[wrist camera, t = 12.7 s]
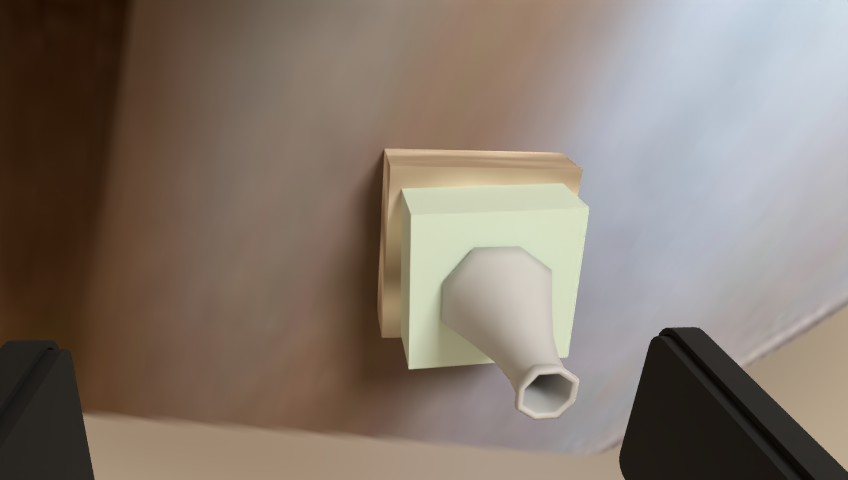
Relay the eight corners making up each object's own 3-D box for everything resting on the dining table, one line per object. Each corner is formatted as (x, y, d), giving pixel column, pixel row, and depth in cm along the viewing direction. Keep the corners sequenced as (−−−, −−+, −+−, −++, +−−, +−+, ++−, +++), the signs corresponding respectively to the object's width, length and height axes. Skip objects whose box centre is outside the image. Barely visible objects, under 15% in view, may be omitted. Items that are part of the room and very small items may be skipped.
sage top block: (401, 188, 40) (410, 215, 36) (562, 183, 42) (589, 208, 38) (400, 331, 45) (408, 369, 41) (545, 321, 46) (567, 357, 42)
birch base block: (383, 146, 43) (390, 165, 39) (559, 150, 46) (582, 169, 42) (376, 306, 49) (381, 338, 45) (533, 303, 51) (552, 333, 47)
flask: (521, 351, 42) (577, 462, 33) (422, 327, 39) (453, 438, 31) (568, 259, 39) (643, 352, 30) (465, 228, 37) (513, 318, 28)
